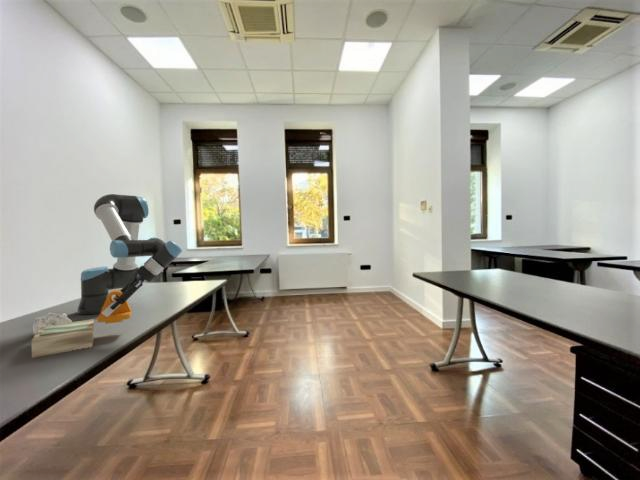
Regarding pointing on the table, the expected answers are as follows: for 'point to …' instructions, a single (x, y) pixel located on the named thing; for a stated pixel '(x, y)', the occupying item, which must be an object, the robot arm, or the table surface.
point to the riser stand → (63, 338)
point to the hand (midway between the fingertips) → (104, 312)
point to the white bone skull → (50, 321)
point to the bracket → (119, 313)
